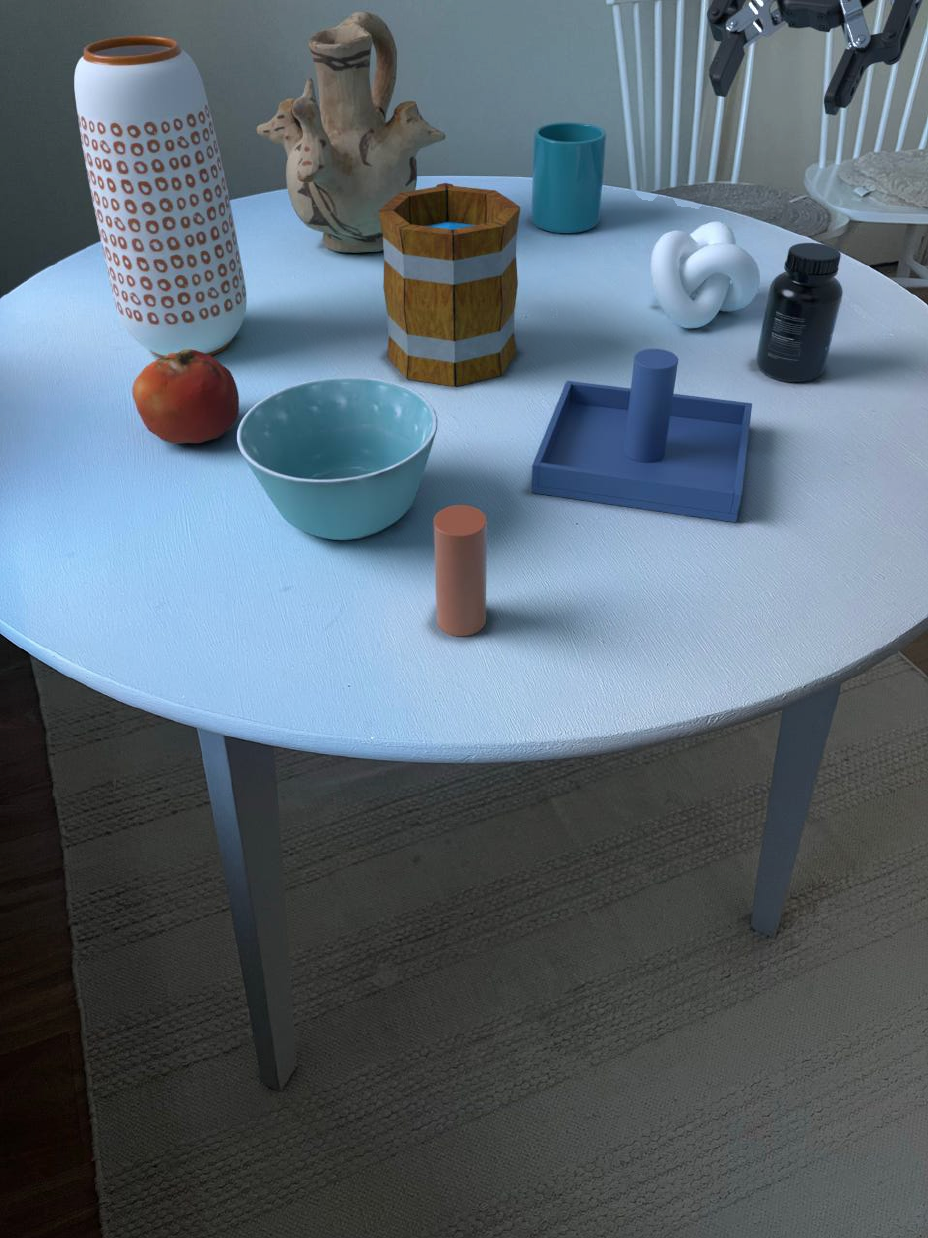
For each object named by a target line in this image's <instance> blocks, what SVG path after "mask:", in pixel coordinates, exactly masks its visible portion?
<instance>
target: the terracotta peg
mask: <svg viewBox="0 0 928 1238" xmlns="http://www.w3.org/2000/svg"><path fill="white" fill-rule="evenodd" d="M433 545H434V574H435V575H434V577H435V578H434V579H435V605H436V607H435V608H436V609H435V610H436V624H437V626H438V627H439V629H440V630H441V631H442V632H444V633H445V634H448V635H450V636H454V637H469V636H473V635H475V634H477V633H478V632H480V631H481V630H482V629H484V628H485V625H486V622H487V566H488V565H487V564H488V563H487V562H488V561H487V560H488V558H487V557H488V553H487V552H488V518H487V515H486V514H485V513H484V511H482V510H481V509H479V508H477V507H475V506H472V505H467V504H454V505H450V506H445V507H444V508H442V509H440V510H439V511H438V512H437V513H435V515H434V518H433Z"/></svg>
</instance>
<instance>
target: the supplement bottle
mask: <svg viewBox="0 0 928 1238" xmlns="http://www.w3.org/2000/svg"><path fill="white" fill-rule="evenodd" d="M841 254H842V253H841V251H840V250H839V249H837V248H835V247H833V246H831V245H827V244H824V243H819V242H801V243H796V244H793V245H791V246H790V247H789V248H788V251H787V256H786V260H785V262H784V266H783V269H784V271H783V272H781V273H780V274H778V275H777V276H776V277H775V278H774V279H773V281H772V282H771V284H770V286H769V290H768V296H767V302H766V306H765V310H764V316H763V321H762V325H761V331H760V336H759V341H758V346H757V351H756V358H755V364H756V367H757V369H758V370H759V371H761V373H762V374H764V375H766V376H767V377H770V378H772V379H775V380H778V381H783V382H787V383H788V382H790V383H804V382H809V381H812V380H814V379H816V378H818V377H820V375H822V374H823V372H824V370H825V367H826V363H827V360H828V355H829V351H830V348H831V344H832V340H833V336H834V331H835V327H836V323H837V320H838V317H839V316H838V315H839V312H840V307H841V304H842V299H843V293H844V291H843V287H842V284H841V283H840V281H839V280H838V279H837V277H836V276H837V275H838V272H839V269H840V268H839V265H840V262H841V257H842V255H841Z"/></svg>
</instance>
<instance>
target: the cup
mask: <svg viewBox="0 0 928 1238" xmlns="http://www.w3.org/2000/svg"><path fill="white" fill-rule="evenodd" d="M606 146H607V132H606V130H604V129H603V128H602V127H600V126H598V125H594V124H590V123H585V122H573V121H564V122H553V123H548V124H543V125H541V126H539V127H537V128H536V129H535V130H534V133H533V154H532V155H533V156H532V181H531V182H532V184H531V206H530V207H531V208H530V209H531V210H530V211H531V212H530V218H531V221H532V223H533V224H534V225H535V226H536V227H537V228H539V229H541V230H542V231H545V232H549V233H550V232H551V233H556V234H578V233H583V232H587V231H589V230H592V229H593V228H595V227H596V226H597V225H598V223H599V222H600V217H601V206H602V194H603V183H604V171H605V170H604V169H605V157H606Z"/></svg>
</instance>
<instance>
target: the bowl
mask: <svg viewBox="0 0 928 1238" xmlns="http://www.w3.org/2000/svg"><path fill="white" fill-rule="evenodd" d="M437 431H438V416H437V413H436V410H435V408H434V407H433V405H432V404H431V402H430V401H429V400H428V399H427V398H425V396H424V395H422V394H421V393H419V392H417V391H416V390H414V389H412V388H410V387H408V386H405V385H403V384H400V383H397V382H394V381H390V380H385V379H381V378H375V377H362V376H340V377H339V376H338V377H327V378H320V379H319V378H318V379H314V380H309V381H305V382H301V383H297V384H294V385H290V386H288V387H285V388H283V389H280V390H278V391H276V392H274V393H272V394H269V395H268V396H266V397H265V398H263V399H261V400H260V401H258V402H257V403H256V404H255V405H254V406H252V407H251V408H250V409H249V410H248V412H246V413H245V415H244V416H243V418H242V419H241V421H240V423H239V425H238V428H237V432H236V442H237V447H238V449H239V451H240V453H241V455H242V456H243V459H244V460H245V462H246V464H247V465H248V467H249V469H250V470H251V471H252V473H253V475H254V477H255V478H256V479H257V481H258V483H259V484H260V486H261V487H262V489H263V490H264V492H265V493H266V495H267V496H268V498H269V499H270V501H271V502H272V504H273V506H274V507H275V508H276V510H277V511H278V513H279V514H280V516H281V517H282V518H283V519H284V520H285V521H286V522H287V523H288V524H289V525H291V526H292V527H293V528H295V529H297V530H299V531H301V532H304V533H306V534H309V535H311V536H315V537H318V538H322V539H325V540H331V541H333V540H334V541H349V540H351V541H352V540H359V539H362V538H366V537H370V536H372V535H375V534H377V533H380V532H381V531H383V530H385V529H386V528H388V527H390V526H392V525H394V523H396V522H397V521H399V520H400V519H401V518H402V517H403V516H404V515H405V514H406V513H407V512H408V511H409V509H410V508H411V506H412V504H413V502H414V500H415V496H416V495H417V491H418V488H419V486H420V483H421V480H422V478H423V475H424V472H425V469H426V466H427V463H428V461H429V457H430V454H431V451H432V449H433V445H434V440H435V438H436V434H437Z"/></svg>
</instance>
